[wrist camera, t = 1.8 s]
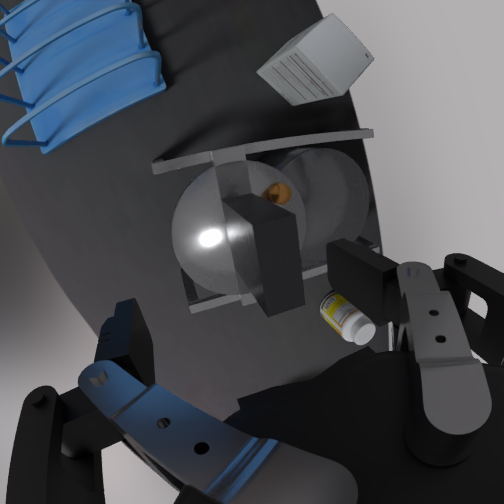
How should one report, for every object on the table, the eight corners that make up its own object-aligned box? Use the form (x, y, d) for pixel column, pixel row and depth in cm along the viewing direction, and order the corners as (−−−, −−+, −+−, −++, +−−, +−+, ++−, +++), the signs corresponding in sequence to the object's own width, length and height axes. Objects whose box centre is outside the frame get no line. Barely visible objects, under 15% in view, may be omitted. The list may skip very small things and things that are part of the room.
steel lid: (193, 314, 31) (212, 381, 22) (153, 164, 25) (150, 172, 16) (307, 279, 34) (360, 327, 25) (290, 137, 28) (354, 136, 19)
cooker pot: (182, 277, 41) (191, 314, 32) (153, 160, 34) (151, 163, 25) (339, 233, 46) (379, 254, 37) (329, 129, 40) (372, 128, 31)
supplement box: (286, 41, 34) (334, 10, 22) (321, 76, 37) (377, 59, 25) (253, 72, 34) (294, 44, 23) (292, 108, 37) (344, 97, 26)
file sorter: (167, 91, 32) (173, 54, 18) (48, 155, 30) (-10, 162, 16) (114, -39, 21) (107, -101, 8) (7, 18, 19) (-38, -20, 5)
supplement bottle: (342, 315, 52) (374, 345, 43) (316, 320, 51) (347, 353, 42) (347, 288, 51) (383, 315, 41) (320, 292, 49) (354, 323, 40)
